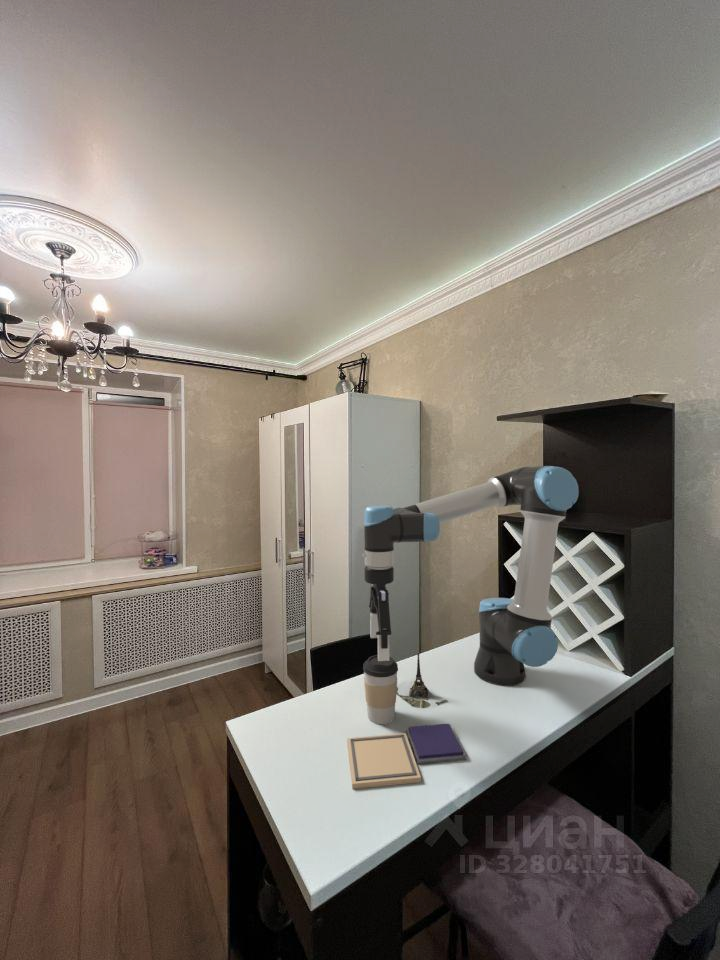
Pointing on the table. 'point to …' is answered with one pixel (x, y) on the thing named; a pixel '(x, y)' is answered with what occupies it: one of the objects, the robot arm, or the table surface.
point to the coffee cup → (380, 689)
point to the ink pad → (435, 744)
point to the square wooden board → (381, 761)
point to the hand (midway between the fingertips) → (379, 648)
